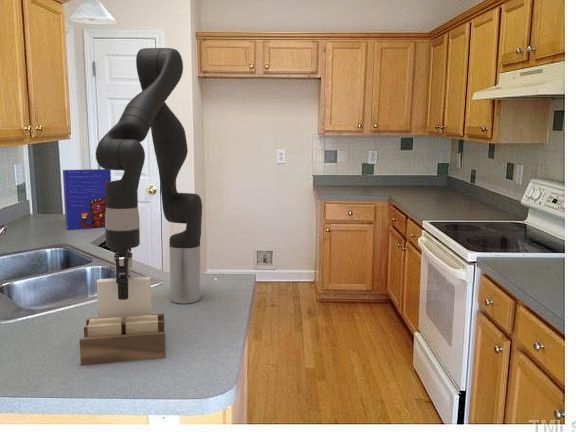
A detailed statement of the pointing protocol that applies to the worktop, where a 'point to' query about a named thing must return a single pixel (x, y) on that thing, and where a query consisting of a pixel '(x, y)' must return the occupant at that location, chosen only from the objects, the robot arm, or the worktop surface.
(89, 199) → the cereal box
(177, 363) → the worktop surface
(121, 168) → the robot arm
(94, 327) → the offcut block
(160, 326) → the rack
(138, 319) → the offcut block
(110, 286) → the cutting board
